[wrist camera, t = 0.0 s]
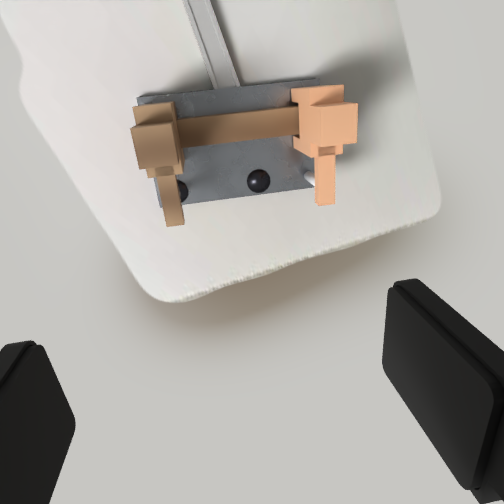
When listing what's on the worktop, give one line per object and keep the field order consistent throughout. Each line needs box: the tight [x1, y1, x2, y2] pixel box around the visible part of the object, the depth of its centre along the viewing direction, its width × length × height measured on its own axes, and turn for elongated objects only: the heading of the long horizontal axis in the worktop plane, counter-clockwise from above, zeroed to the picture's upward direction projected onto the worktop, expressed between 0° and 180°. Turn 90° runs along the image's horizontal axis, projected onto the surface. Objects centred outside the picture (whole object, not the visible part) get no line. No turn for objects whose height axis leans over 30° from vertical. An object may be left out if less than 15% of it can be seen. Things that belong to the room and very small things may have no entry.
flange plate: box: [137, 79, 319, 208], centre depth 37 cm, size 11×18×1 cm, turn 95°
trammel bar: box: [130, 101, 300, 227], centre depth 33 cm, size 10×18×10 cm, turn 95°
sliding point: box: [291, 85, 358, 206], centre depth 33 cm, size 10×3×9 cm, turn 5°
